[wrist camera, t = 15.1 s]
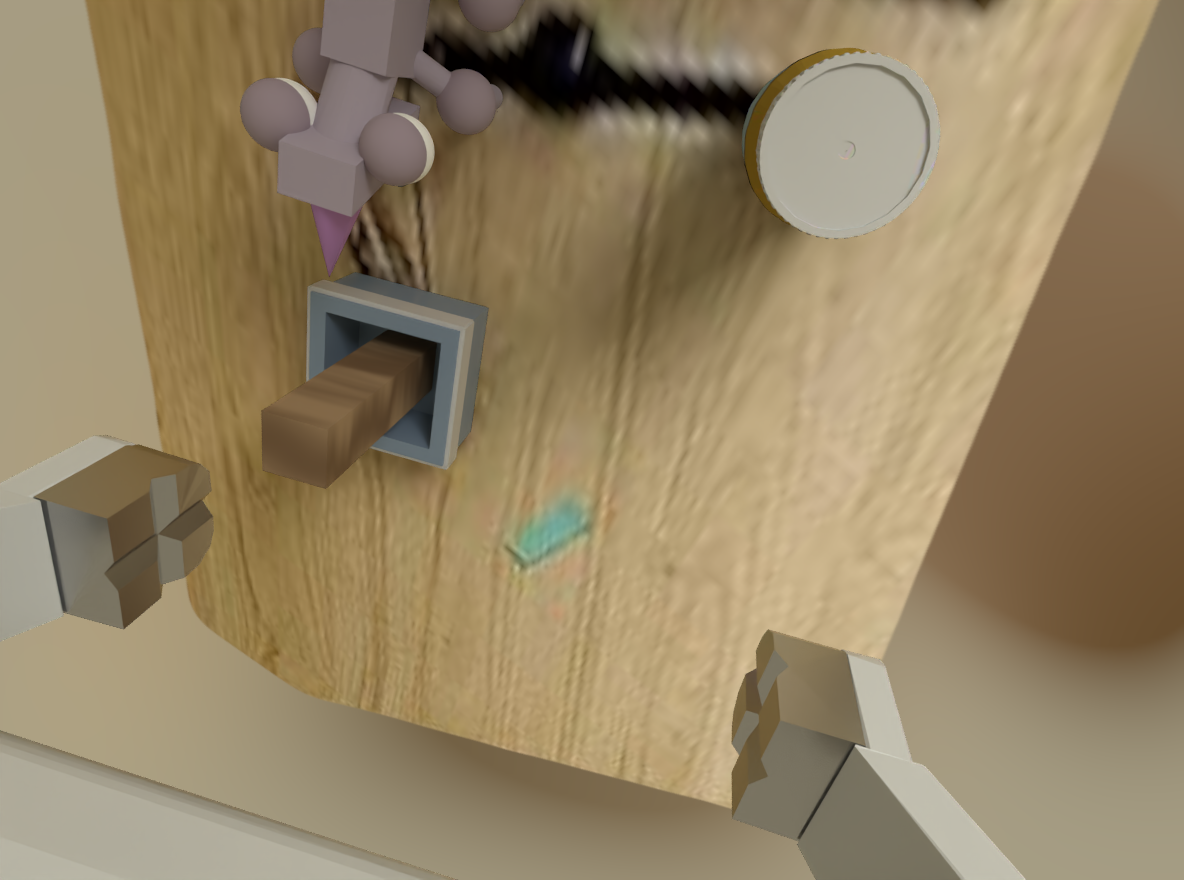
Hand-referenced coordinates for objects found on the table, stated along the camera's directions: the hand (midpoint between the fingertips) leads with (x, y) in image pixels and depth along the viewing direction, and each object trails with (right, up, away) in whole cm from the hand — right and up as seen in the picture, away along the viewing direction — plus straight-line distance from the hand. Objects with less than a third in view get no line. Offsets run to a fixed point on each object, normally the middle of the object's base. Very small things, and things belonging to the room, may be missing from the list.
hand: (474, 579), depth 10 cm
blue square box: (-11, +8, +38) cm, 40 cm away
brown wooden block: (-11, +8, +37) cm, 39 cm away
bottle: (+14, +19, +28) cm, 36 cm away
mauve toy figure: (-7, +24, +30) cm, 39 cm away
